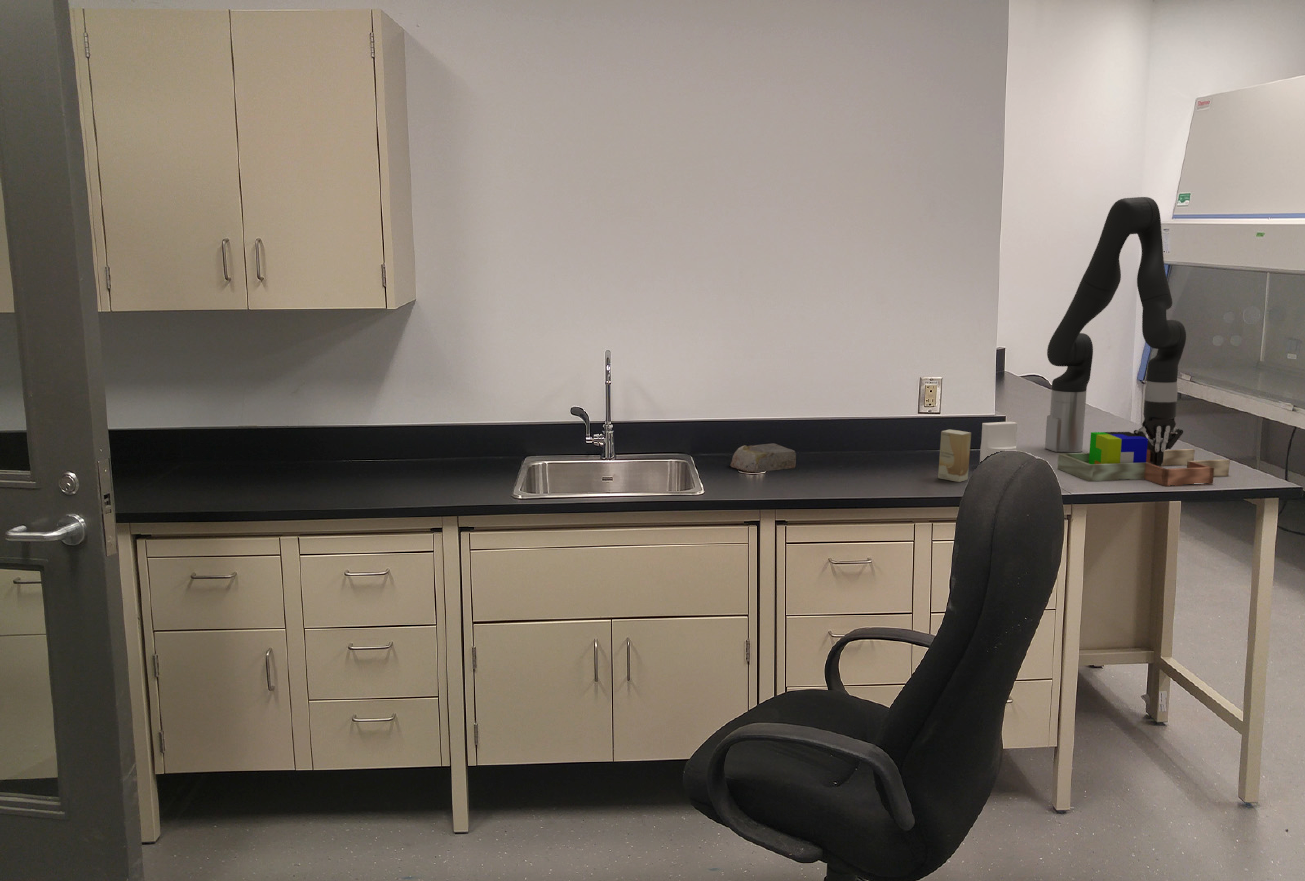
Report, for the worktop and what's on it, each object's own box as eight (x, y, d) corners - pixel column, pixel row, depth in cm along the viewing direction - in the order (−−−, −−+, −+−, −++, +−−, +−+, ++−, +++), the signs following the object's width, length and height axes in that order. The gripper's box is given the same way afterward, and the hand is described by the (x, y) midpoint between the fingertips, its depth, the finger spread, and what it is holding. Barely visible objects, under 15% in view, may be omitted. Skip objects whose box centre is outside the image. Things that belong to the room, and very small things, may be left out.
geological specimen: (799, 449, 284) (752, 452, 276) (797, 472, 285) (750, 475, 278) (775, 442, 293) (729, 444, 286) (773, 464, 294) (728, 466, 287)
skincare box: (937, 478, 270) (939, 430, 268) (946, 476, 273) (948, 428, 271) (960, 482, 265) (962, 434, 263) (969, 479, 268) (971, 431, 266)
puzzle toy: (1144, 477, 270) (1147, 438, 268) (1105, 478, 269) (1108, 439, 267) (1125, 469, 279) (1128, 431, 278) (1088, 470, 279) (1090, 432, 277)
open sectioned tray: (1106, 488, 258) (1107, 472, 258) (1042, 462, 289) (1043, 448, 288) (1250, 482, 264) (1251, 466, 263) (1172, 457, 294) (1173, 443, 293)
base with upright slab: (992, 472, 277) (994, 426, 275) (972, 465, 285) (975, 421, 283) (1022, 470, 279) (1025, 425, 277) (1002, 463, 288) (1005, 419, 285)
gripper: (1145, 401, 268) (1141, 469, 271) (1193, 399, 270) (1189, 467, 273) (1128, 398, 276) (1124, 464, 279) (1175, 396, 278) (1170, 461, 281)
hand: (1156, 465), depth 276 cm, fingers closed
